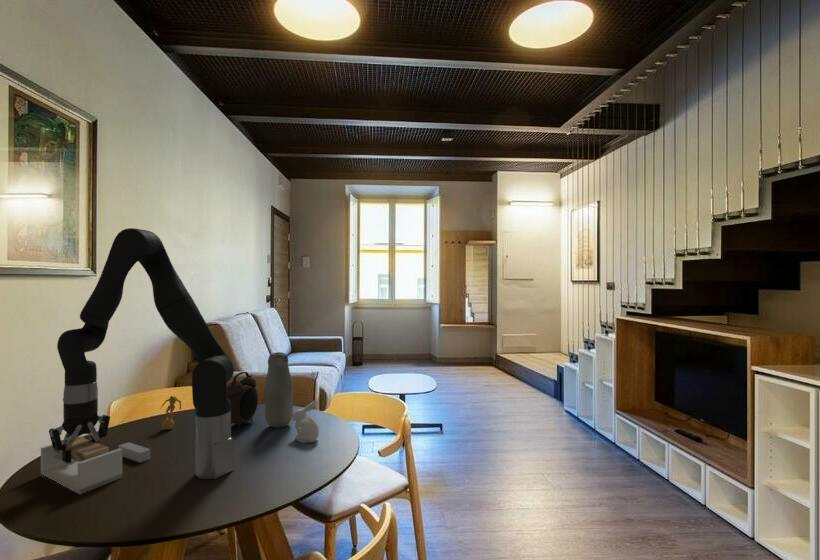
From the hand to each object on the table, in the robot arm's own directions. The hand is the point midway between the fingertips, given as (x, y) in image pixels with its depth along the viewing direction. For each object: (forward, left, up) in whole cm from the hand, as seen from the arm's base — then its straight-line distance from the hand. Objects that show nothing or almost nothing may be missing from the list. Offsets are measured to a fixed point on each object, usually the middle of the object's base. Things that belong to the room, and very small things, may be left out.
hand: (80, 458), depth 113 cm
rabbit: (-38, -50, -5) cm, 63 cm away
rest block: (0, -14, -5) cm, 15 cm away
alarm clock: (-7, -49, -5) cm, 50 cm away
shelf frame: (0, 0, -5) cm, 5 cm away
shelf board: (0, 0, +1) cm, 1 cm away
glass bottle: (-21, -54, -5) cm, 58 cm away
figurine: (+14, -34, -5) cm, 37 cm away
